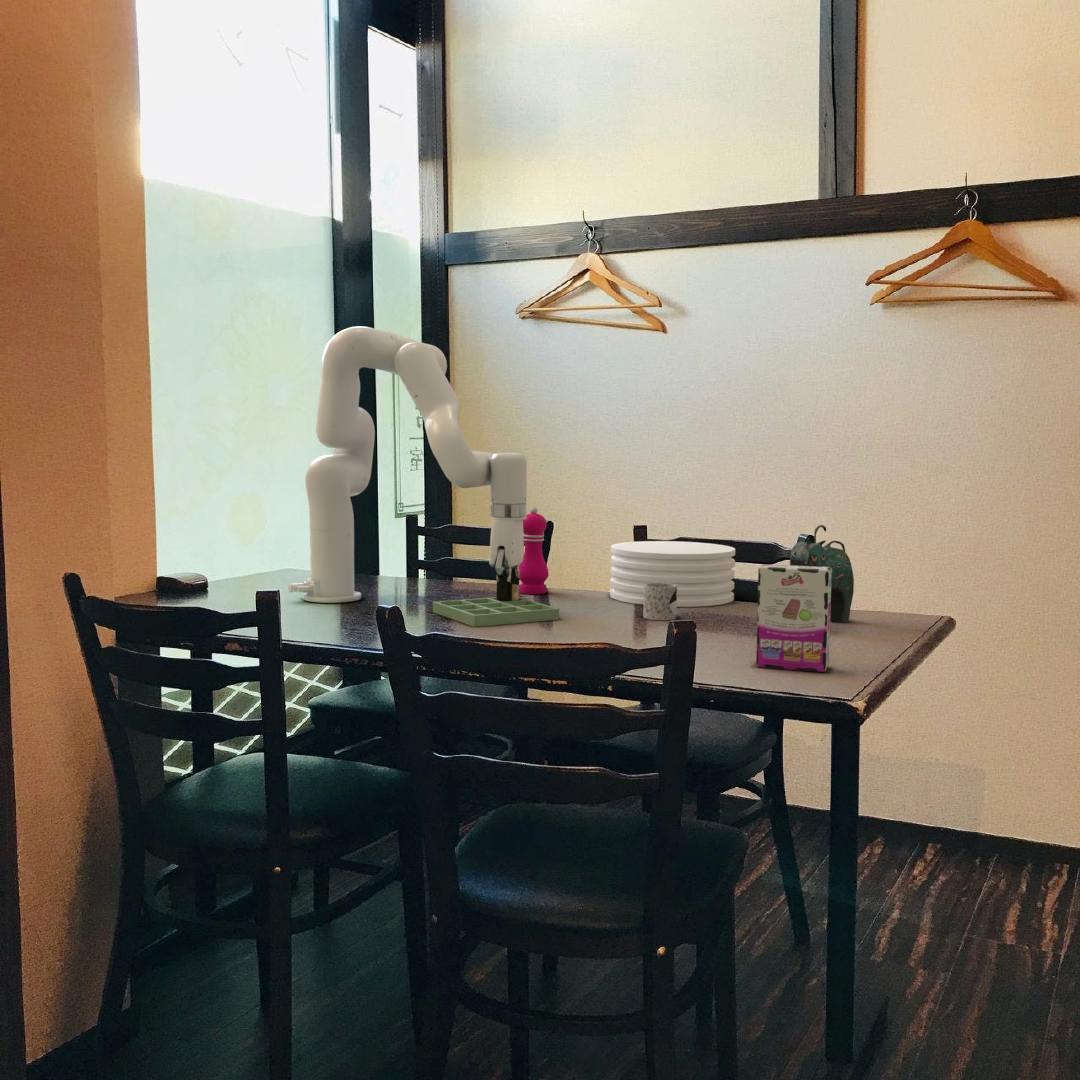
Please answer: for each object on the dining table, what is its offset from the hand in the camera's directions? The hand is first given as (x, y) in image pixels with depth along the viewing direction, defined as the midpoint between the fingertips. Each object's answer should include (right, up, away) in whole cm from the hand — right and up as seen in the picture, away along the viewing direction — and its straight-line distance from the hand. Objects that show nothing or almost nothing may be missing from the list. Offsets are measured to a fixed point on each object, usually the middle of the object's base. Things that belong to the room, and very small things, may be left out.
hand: (508, 597), depth 234 cm
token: (0, 0, 0) cm, 0 cm away
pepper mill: (+5, 0, +25) cm, 25 cm away
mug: (+31, -4, -6) cm, 32 cm away
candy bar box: (+47, -9, -54) cm, 72 cm away
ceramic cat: (+62, -5, -15) cm, 64 cm away
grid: (-2, -3, -8) cm, 9 cm away
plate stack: (+37, -1, +20) cm, 42 cm away
